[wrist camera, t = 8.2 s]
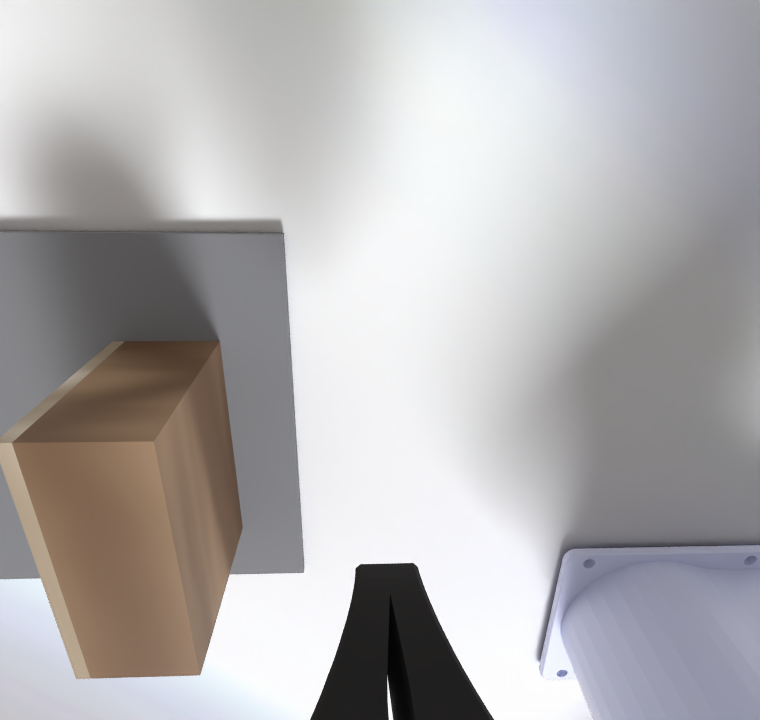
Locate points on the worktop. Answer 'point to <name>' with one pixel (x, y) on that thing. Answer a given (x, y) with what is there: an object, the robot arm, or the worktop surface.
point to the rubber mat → (160, 323)
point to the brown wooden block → (131, 505)
